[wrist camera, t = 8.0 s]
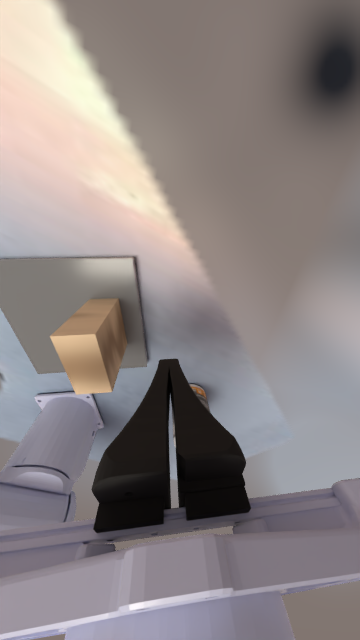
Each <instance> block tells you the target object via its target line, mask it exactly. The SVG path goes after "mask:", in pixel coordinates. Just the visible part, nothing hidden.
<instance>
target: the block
mask: <svg viewBox="0 0 360 640" xmlns="http://www.w3.org/2000/svg"><path fill="white" fill-rule="evenodd" d="M50 338H51V340H52V342H53V345H54V347H55V349H56V351H57V353H58V356H59V358H60V360H61V362H62V364H63V367H64V369H65V371H66V373H67V375H68V378H69V380H70V382H71V384H72V386H73V389H74V391H75V393H76V395H78V394H91V393H104V392H112V391H113V388H114V384H115V381H116V378H117V375H118V372H119V369H120V365H121V362H122V359H123V356H124V353H125V350H126V346H127V339H126V334H125V329H124V324H123V318H122V313H121V308H120V303H119V298H111V299H89V300H88V301H87V302H86V303H85V304H84V305H83V306H82V307H81V308H80V309H79V310H78V311H76V312H75V313H74V314H73V315H72V316H71V317H70V318H69V319H68V320H67V321H66V322H65V323H64V324H63V325H61V326H60V327H59V328H58V329H57V330H56V331H55V332H54V333H53V334H52V335H51V336H50Z"/></svg>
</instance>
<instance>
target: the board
mask: <svg viewBox="0 0 360 640" xmlns="http://www.w3.org/2000/svg"><path fill="white" fill-rule="evenodd" d="M111 298H119V303H120V308H121V313H122V318H123V324H124V329H125V334H126V339H127V346H126V350H125V353H124V356H123V359H122V362H121V365H120V368H134V367H147V361H148V360H147V352H146V344H145V336H144V328H143V321H142V313H141V305H140V297H139V289H138V281H137V273H136V266H135V258H134V257H82V258H20V259H0V308H1V310H2V311H3V313H4V315H5V317H6V318H7V320H8V322H9V324H10V325H11V327H12V329H13V331H14V333H15V334H16V336H17V338H18V340H19V341H20V343H21V345H22V347H23V348H24V350H25V352H26V354H27V355H28V357H29V359H30V361H31V362H32V364H33V366H34V368H35V369H36V371H37V373H38V374H44V373H59V372H66V371H65V369H64V367H63V364H62V362H61V360H60V358H59V356H58V353H57V351H56V349H55V347H54V345H53V342H52V340H51V338H50V336H51V335H52V334H53V333H54V332H55V331H56V330H57V329H58V328H59V327H60V326H61V325H63V324H64V323H65V322H66V321H67V320H68V319H69V318H70V317H71V316H72V315H73V314H74V313H75V312H76V311H78V310H79V309H80V308H81V307H82V306H83V305H84V304H85V303H86V302H87V301H88V300H89V299H111Z"/></svg>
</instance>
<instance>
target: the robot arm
mask: <svg viewBox="0 0 360 640" xmlns="http://www.w3.org/2000/svg"><path fill="white" fill-rule="evenodd" d="M170 394H171V402H172V409H173V417H174V425H175V441H176V459H177V478H178V497H179V508H172V509H171V498H170V497H171V496H170V463H169V430H168V427H169V404H170ZM35 400H36V402H37V403H38V405H39V406H40V408H41V410H42V411H41V413H40V414H39V416H38V417H37V419H36V420H35V422H34V423H33V425H32V426H31V428H30V429H29V431H28V432H27V434H26V435H25V437H24V438H23V439H22V441H21V442H20V444H19V445H18V447H17V449H16V450H15V451H14V453H13V454H12V456H11V457H10V459H9V460H8V462H7V463H6V465H5V466H4V468H3V469H2V471H1V472H0V640H30V639H35V638H42V637H48V636H53V635H59V634H66V635H65V640H295V637H294V634H293V630H292V627H291V625H290V621H289V618H288V615H287V612H286V609H285V606H284V602H283V599H282V596H281V595H285V594H290V593H296V592H301V591H306V590H312V589H316V588H322V587H328V586H333V585H338V584H343V583H348V582H354V581H360V478H356V479H348V480H341V481H338V482H336V483H334V484H333V485H332V488H327V489H319V490H311V491H304V492H296V493H288V494H281V495H273V496H266V497H257V498H250V499H248V497H247V493H246V490H245V487H244V486H245V481H244V478H243V475H242V473H243V470H244V468H245V465H246V461H245V457H244V455H243V453H242V450H241V448H240V446H239V444H238V443H237V441H236V439H235V437H234V436H233V435H231V434H230V433H229V432H228V431H227V430H226V429H225V428H224V427H223V426H222V425H221V424H220V423H219V422H218V421H217V420H216V419H215V418H214V417H213V415H212V414H211V413H210V412H209V411H208V410H207V409H206V407H205V406H204V405H203V404H202V402H201V401H200V400H199V398H198V397H197V396H196V394H195V393H194V391H193V390H192V388H191V386H190V385H189V383H188V381H187V379H186V378H185V376H184V374H183V372H182V369H181V367H180V364H179V361H178V359H163V360H160V361H159V364H158V368H157V371H156V374H155V376H154V379H153V381H152V383H151V386H150V388H149V390H148V392H147V394H146V395H145V397H144V399H143V401H142V402H141V404H140V406H139V407H138V409H137V410H136V412H135V413H134V415H133V416H132V418H131V419H130V421H129V422H128V423H127V424H126V426H125V427H124V428H123V430H122V431H121V432H120V434H119V435H118V436H117V437H116V438H115V439H114V441H113V442H112V443H111V444H110V445H109V446H108V448H107V449H106V450H105V452H104V454H103V456H102V459H101V461H100V463H99V466H98V469H97V472H96V475H95V479H94V482H93V486H92V492H93V494H94V496H95V497H96V499H97V500H98V502H99V507H98V511H97V515H96V518H95V519H88V520H80V521H74V517H75V512H76V496H75V493H74V492H73V491H71V490H72V487H73V484H74V483H75V482H76V481H77V480H78V478H79V477H80V476H81V474H82V472H83V470H84V468H85V465H86V462H87V459H88V456H89V453H90V450H91V447H92V444H93V441H94V438H95V435H96V432H97V429H102V428H103V427H104V424H103V421H102V419H101V416H100V414H99V411H98V408H97V406H96V403H95V401H94V398H93V395H92V393H91V394H78V395H76V393H75V392H66V393H53V394H40V395H36V396H35ZM234 525H236V526H234ZM227 526H233V534H221V535H220V534H201V535H193V536H186V537H179V538H172V539H165V540H158V541H152V542H145V543H140V544H136V545H133V546H131V547H129V548H126V549H122V550H117V551H116V550H115V545H114V544H107V543H114V542H121V541H128V540H135V539H142V538H149V537H156V536H164V535H171V534H178V533H184V532H192V531H199V530H206V529H213V528H220V527H227Z"/></svg>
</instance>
